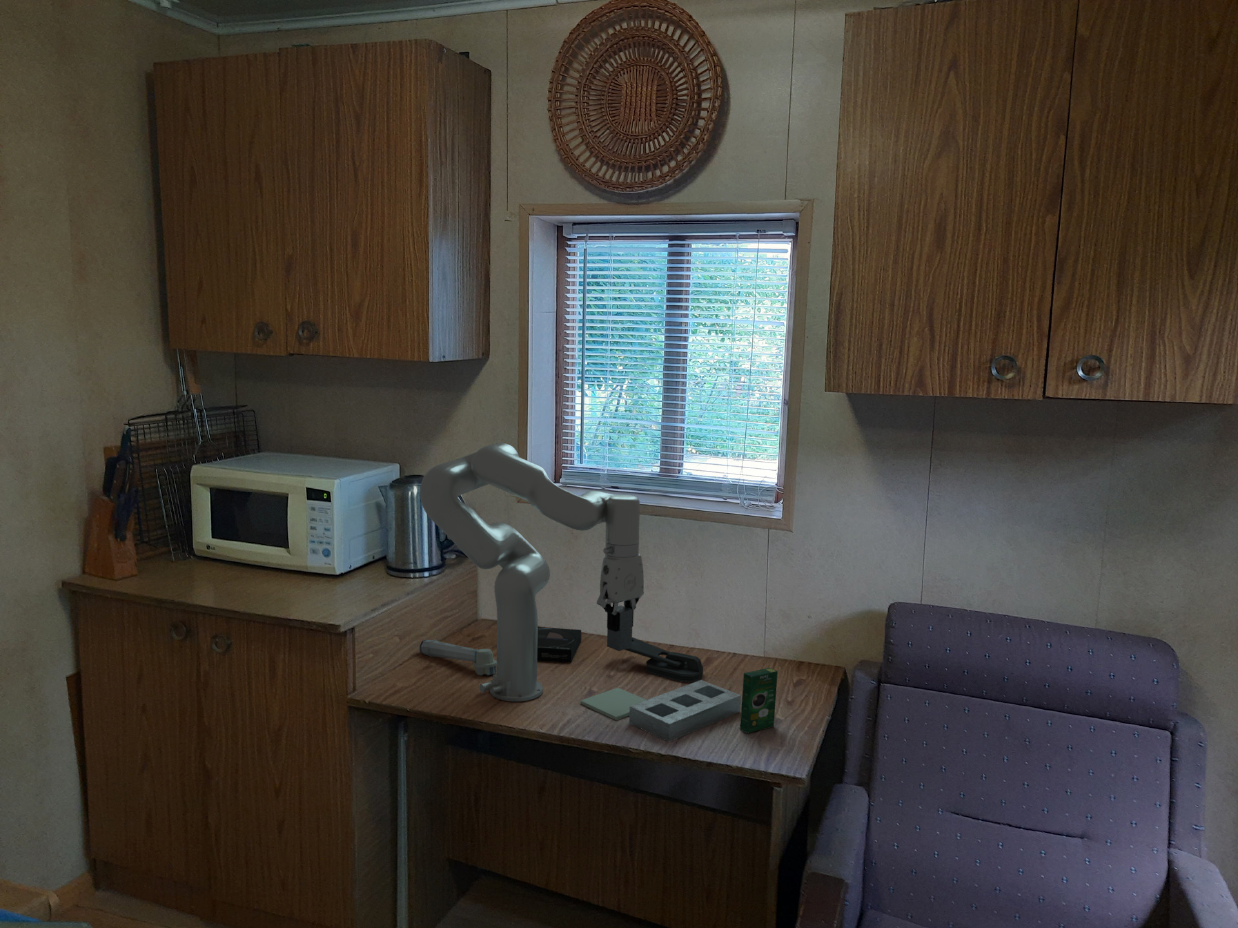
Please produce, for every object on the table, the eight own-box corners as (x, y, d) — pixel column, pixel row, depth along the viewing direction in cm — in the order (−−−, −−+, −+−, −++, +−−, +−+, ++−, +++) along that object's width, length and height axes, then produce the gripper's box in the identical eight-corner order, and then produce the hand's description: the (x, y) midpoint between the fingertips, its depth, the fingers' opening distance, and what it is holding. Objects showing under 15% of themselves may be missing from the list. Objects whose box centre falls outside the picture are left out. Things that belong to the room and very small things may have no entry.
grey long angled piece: (431, 636, 243) (500, 644, 228) (433, 661, 244) (502, 670, 229) (416, 641, 239) (485, 650, 224) (419, 666, 239) (487, 676, 225)
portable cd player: (581, 642, 254) (581, 629, 253) (571, 664, 237) (571, 649, 237) (523, 638, 256) (523, 625, 255) (509, 660, 239) (509, 645, 238)
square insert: (619, 651, 206) (620, 612, 205) (606, 646, 209) (608, 608, 208) (631, 647, 209) (632, 609, 208) (619, 642, 212) (620, 605, 211)
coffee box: (766, 721, 204) (769, 665, 203) (775, 726, 202) (778, 669, 200) (739, 729, 200) (742, 672, 198) (747, 734, 198) (750, 676, 196)
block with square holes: (668, 741, 193) (669, 723, 192) (629, 723, 201) (629, 706, 201) (740, 711, 209) (740, 695, 209) (700, 695, 218) (701, 679, 217)
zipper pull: (621, 631, 243) (708, 648, 232) (620, 655, 244) (707, 673, 233) (605, 641, 235) (695, 659, 224) (604, 665, 236) (694, 685, 225)
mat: (616, 720, 203) (616, 716, 203) (580, 703, 211) (580, 700, 211) (653, 706, 211) (653, 702, 211) (617, 690, 220) (617, 687, 219)
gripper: (606, 558, 197) (604, 639, 200) (659, 547, 209) (657, 624, 212) (583, 552, 203) (581, 631, 205) (636, 541, 214) (634, 616, 217)
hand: (620, 627), depth 208 cm, fingers closed on square insert, 4 cm apart
